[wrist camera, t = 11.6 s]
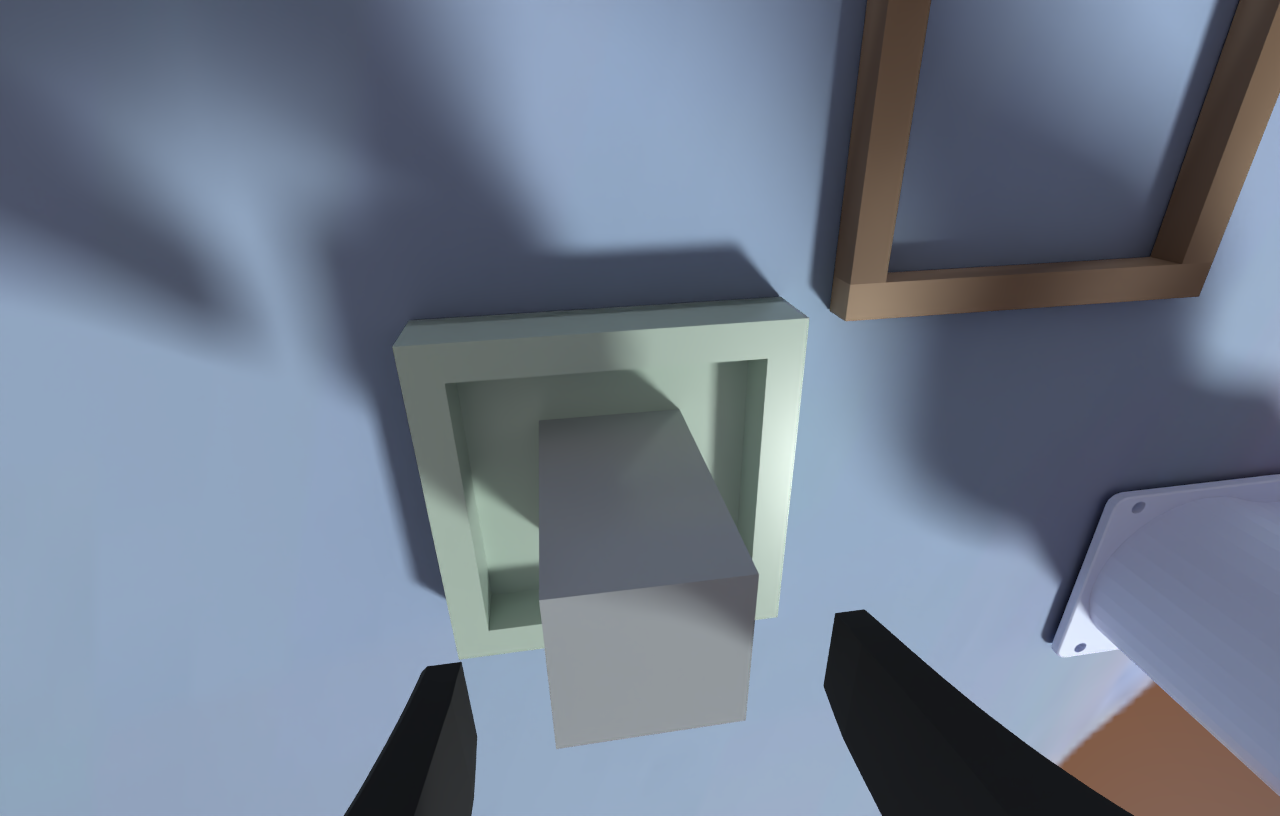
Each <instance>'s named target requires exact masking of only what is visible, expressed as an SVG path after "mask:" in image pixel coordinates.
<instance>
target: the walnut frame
mask: <svg viewBox="0 0 1280 816" xmlns="http://www.w3.org/2000/svg"><path fill="white" fill-rule="evenodd" d="M930 4H931V0H867V6H866V15H865V23H864V31H863V39H862V47H861V56H860V64H859V72H858V80H857V89H856V97H855V105H854V113H853V122H852V130H851V138H850V146H849V154H848V163H847V171H846V179H845V187H844V196H843V204H842V212H841V220H840V229H839V237H838V245H837V253H836V261H835V270H834V278H833V286H832V294H831V303H830V311H831V312H832V313H834V314H835V315H837V316H838V317H840V318H841V319H843V320H844V321H856V320H870V319H885V318H899V317H913V316H927V315H942V314H956V313H970V312H984V311H999V310H1013V309H1027V308H1041V307H1056V306H1070V305H1084V304H1098V303H1113V302H1127V301H1141V300H1155V299H1170V298H1184V297H1198V296H1199V295H1200V293H1201V290H1202V288H1203V285H1204V283H1205V280H1206V277H1207V275H1208V272H1209V270H1210V267H1211V265H1212V262H1213V260H1214V257H1215V255H1216V252H1217V250H1218V247H1219V245H1220V242H1221V240H1222V237H1223V234H1224V232H1225V229H1226V227H1227V224H1228V222H1229V219H1230V217H1231V214H1232V212H1233V209H1234V207H1235V204H1236V202H1237V199H1238V197H1239V194H1240V191H1241V189H1242V186H1243V184H1244V181H1245V179H1246V176H1247V174H1248V171H1249V169H1250V166H1251V164H1252V161H1253V159H1254V156H1255V154H1256V151H1257V149H1258V146H1259V143H1260V141H1261V138H1262V136H1263V133H1264V131H1265V128H1266V126H1267V123H1268V121H1269V118H1270V116H1271V113H1272V111H1273V108H1274V106H1275V103H1276V100H1277V98H1278V95H1279V93H1280V0H1240V1H1239V4H1238V7H1237V10H1236V12H1235V15H1234V18H1233V21H1232V24H1231V27H1230V30H1229V33H1228V35H1227V38H1226V41H1225V44H1224V47H1223V50H1222V53H1221V55H1220V58H1219V61H1218V64H1217V67H1216V70H1215V73H1214V76H1213V78H1212V81H1211V84H1210V87H1209V90H1208V93H1207V96H1206V98H1205V101H1204V104H1203V107H1202V110H1201V113H1200V116H1199V119H1198V121H1197V124H1196V127H1195V130H1194V133H1193V136H1192V139H1191V141H1190V144H1189V147H1188V150H1187V153H1186V156H1185V159H1184V162H1183V164H1182V167H1181V170H1180V173H1179V176H1178V179H1177V182H1176V184H1175V187H1174V190H1173V193H1172V196H1171V199H1170V202H1169V204H1168V207H1167V210H1166V213H1165V216H1164V219H1163V222H1162V225H1161V227H1160V230H1159V233H1158V236H1157V239H1156V242H1155V245H1154V247H1153V250H1152V253H1151V256H1150V257H1140V258H1123V259H1106V260H1090V261H1073V262H1056V263H1040V264H1023V265H1006V266H989V267H973V268H956V269H939V270H923V271H906V272H889V273H887V272H888V266H889V260H890V254H891V247H892V241H893V235H894V229H895V222H896V216H897V210H898V204H899V198H900V191H901V185H902V179H903V173H904V166H905V160H906V154H907V148H908V141H909V135H910V129H911V123H912V117H913V110H914V104H915V98H916V92H917V85H918V79H919V73H920V67H921V61H922V54H923V48H924V42H925V36H926V29H927V23H928V17H929V11H930Z"/></svg>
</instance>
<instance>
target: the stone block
mask: <svg viewBox="0 0 1280 816" xmlns="http://www.w3.org/2000/svg"><path fill="white" fill-rule="evenodd" d="M758 581H759V573H758V571H757V569H756V567H755V565H754V563H753V560H752V558H751V556H750V554H749V552H748V550H747V548H746V546H745V544H744V542H743V540H742V538H741V536H740V534H739V531H738V529H737V527H736V525H735V523H734V521H733V519H732V517H731V515H730V513H729V511H728V509H727V507H726V504H725V502H724V500H723V498H722V496H721V494H720V492H719V490H718V488H717V486H716V484H715V482H714V480H713V478H712V475H711V473H710V471H709V469H708V467H707V465H706V463H705V461H704V459H703V457H702V455H701V453H700V451H699V448H698V446H697V444H696V442H695V440H694V438H693V436H692V434H691V432H690V430H689V428H688V426H687V424H686V422H685V419H684V417H683V415H682V413H681V411H680V409H674V410H662V411H650V412H637V413H625V414H612V415H600V416H588V417H575V418H563V419H550V420H539V604H540V612H541V621H542V630H543V638H544V647H545V655H546V664H547V673H548V681H549V690H550V699H551V707H552V716H553V724H554V733H555V742H556V749H559V748H566V747H573V746H579V745H586V744H593V743H599V742H606V741H612V740H619V739H626V738H632V737H639V736H645V735H652V734H659V733H665V732H672V731H679V730H685V729H692V728H698V727H705V726H712V725H718V724H725V723H732V722H738V721H745V720H746V710H747V699H748V689H749V678H750V667H751V656H752V646H753V635H754V624H755V613H756V603H757V592H758Z"/></svg>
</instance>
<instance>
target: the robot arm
mask: <svg viewBox="0 0 1280 816" xmlns="http://www.w3.org/2000/svg"><path fill="white" fill-rule="evenodd" d="M1052 649H1053V651H1054V652H1055V653H1056V654H1057V655H1058V656H1060V657H1071V656H1077V655H1084V654H1090V653H1097V652H1103V651H1110V650H1117V649H1120V650H1121V651H1122V652H1123V653H1124V654H1125V655H1126V656H1127V657H1128V658H1129V659H1130V660H1132V661H1133V662H1134V663H1135V664H1136V665H1137V666H1138V667H1139V668H1140V669H1141V670H1142V671H1144V672H1145V673H1146V674H1147V675H1148V676H1149V677H1150V678H1151V679H1152V680H1153V681H1154V682H1156V683H1157V684H1158V685H1159V686H1160V687H1161V688H1162V689H1163V690H1164V691H1165V692H1167V693H1168V694H1169V695H1170V696H1171V697H1172V698H1173V699H1174V700H1175V701H1176V702H1177V703H1179V704H1180V705H1181V706H1182V707H1183V708H1184V709H1185V710H1186V711H1187V712H1188V713H1189V714H1190V715H1192V716H1193V717H1194V718H1195V719H1196V720H1197V721H1198V722H1199V723H1200V724H1201V725H1202V726H1204V727H1205V728H1206V729H1207V730H1208V731H1209V732H1210V733H1211V734H1212V735H1213V736H1214V737H1215V738H1217V739H1218V740H1219V741H1220V742H1221V743H1222V744H1223V745H1224V746H1226V748H1227V749H1229V750H1230V751H1231V752H1232V753H1233V754H1234V755H1235V756H1236V757H1237V758H1238V759H1240V760H1241V761H1242V762H1243V763H1244V764H1245V765H1246V766H1247V767H1248V768H1249V769H1250V770H1251V771H1253V772H1254V773H1255V774H1256V775H1257V776H1258V777H1259V778H1260V779H1261V780H1262V781H1264V782H1265V783H1266V784H1267V785H1268V786H1269V787H1270V788H1271V789H1272V790H1273V791H1274V792H1275V793H1277V794H1278V795H1279V796H1280V474H1276V475H1267V476H1258V477H1250V478H1241V479H1232V480H1224V481H1215V482H1206V483H1198V484H1189V485H1180V486H1172V487H1163V488H1154V489H1146V490H1137V491H1128V492H1121V493H1118V494H1115V495H1114V496H1112V497H1111V498H1110V499H1109V500H1108V501H1107V503H1106V505H1105V508H1104V510H1103V513H1102V516H1101V518H1100V521H1099V523H1098V526H1097V528H1096V531H1095V534H1094V536H1093V539H1092V541H1091V544H1090V547H1089V549H1088V552H1087V554H1086V557H1085V560H1084V562H1083V565H1082V567H1081V570H1080V573H1079V575H1078V578H1077V580H1076V583H1075V585H1074V588H1073V591H1072V593H1071V596H1070V598H1069V601H1068V604H1067V606H1066V609H1065V611H1064V614H1063V617H1062V619H1061V622H1060V624H1059V627H1058V630H1057V632H1056V635H1055V637H1054V640H1053V642H1052ZM824 688H825V691H826V694H827V697H828V700H829V702H830V705H831V708H832V711H833V713H834V716H835V719H836V721H837V724H838V726H839V729H840V731H841V734H842V737H843V739H844V741H845V743H846V745H847V747H848V749H849V751H850V753H851V755H852V757H853V759H854V761H855V763H856V765H857V767H858V769H859V771H860V773H861V775H862V777H863V779H864V781H865V783H866V785H867V787H868V789H869V791H870V793H871V795H872V797H873V799H874V801H875V803H876V805H877V807H878V809H879V811H880V812H881V814H882V816H1134V815H1132V814H1131V813H1129V812H1127V811H1125V810H1124V809H1122V808H1121V807H1119V806H1117V805H1116V804H1114V803H1113V802H1111V801H1110V800H1108V799H1106V798H1105V797H1103V796H1102V795H1100V794H1099V793H1097V792H1095V791H1094V790H1092V789H1091V788H1089V787H1088V786H1087V785H1085V784H1084V783H1082V782H1081V781H1079V780H1078V779H1076V778H1075V777H1073V776H1072V775H1070V774H1069V773H1067V772H1066V771H1064V770H1063V769H1062V768H1060V767H1059V766H1057V765H1056V764H1054V763H1053V762H1051V761H1050V760H1048V759H1047V758H1045V757H1044V756H1043V755H1041V754H1040V753H1039V752H1037V751H1036V750H1034V749H1033V748H1032V747H1030V746H1029V745H1027V744H1026V743H1025V742H1023V741H1022V740H1021V739H1019V738H1018V737H1017V736H1015V735H1014V734H1013V733H1012V732H1010V731H1009V730H1008V729H1006V728H1005V727H1004V726H1002V725H1001V724H1000V723H998V722H997V721H996V720H994V719H993V718H992V717H990V716H989V715H988V714H987V713H985V712H984V711H983V710H982V709H980V708H979V707H978V706H977V705H975V704H974V703H973V702H972V701H970V700H969V699H968V698H967V697H966V696H964V695H963V694H962V693H961V692H960V691H958V690H957V689H956V688H955V687H953V686H952V685H951V684H950V683H949V682H947V681H946V680H945V679H944V678H943V677H941V676H940V675H939V674H938V673H937V672H936V671H934V670H933V669H932V668H931V667H930V666H929V665H927V664H926V663H925V662H924V661H923V660H922V659H921V658H919V657H918V656H917V655H916V654H915V653H914V652H912V651H911V650H910V649H909V648H908V647H907V646H906V645H904V644H903V643H902V642H901V641H900V640H899V639H898V638H897V637H895V636H894V635H893V634H892V633H891V632H890V631H889V630H887V629H886V628H885V627H884V626H883V625H882V624H881V623H879V622H878V621H877V620H876V619H875V618H874V617H873V616H871V615H870V614H869V613H868V612H867V611H866V610H857V611H849V612H841V613H835V618H834V624H833V631H832V637H831V643H830V649H829V655H828V662H827V668H826V674H825V680H824ZM476 749H477V733H476V729H475V724H474V719H473V714H472V710H471V705H470V700H469V696H468V691H467V686H466V681H465V677H464V672H463V667H462V662H458V663H450V664H442V665H435V666H427V667H426V668H425V669H424V670H423V671H422V673H421V675H420V677H419V679H418V681H417V684H416V686H415V688H414V690H413V692H412V694H411V696H410V698H409V700H408V702H407V704H406V706H405V708H404V710H403V712H402V714H401V716H400V718H399V720H398V722H397V724H396V726H395V728H394V730H393V731H392V733H391V735H390V737H389V739H388V741H387V743H386V745H385V746H384V748H383V750H382V752H381V753H380V755H379V757H378V759H377V760H376V762H375V764H374V766H373V768H372V769H371V771H370V773H369V775H368V776H367V778H366V780H365V782H364V783H363V785H362V787H361V789H360V790H359V792H358V794H357V795H356V797H355V799H354V800H353V802H352V803H351V805H350V807H349V808H348V810H347V811H346V813H345V815H344V816H471V814H472V807H473V800H474V787H475V770H476Z"/></svg>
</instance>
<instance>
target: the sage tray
mask: <svg viewBox="0 0 1280 816" xmlns="http://www.w3.org/2000/svg"><path fill="white" fill-rule="evenodd" d="M808 326H809V317H807V316H806V315H804V314H803V313H802V312H800V311H799V310H798V309H796V308H795V307H794V306H792V305H791V304H790V303H788V302H787V301H786V300H784V299H783V298H782V297H768V298H753V299H737V300H721V301H706V302H690V303H674V304H658V305H643V306H627V307H611V308H596V309H580V310H564V311H549V312H533V313H517V314H502V315H486V316H470V317H455V318H439V319H423V320H409V321H408V323H407V324H406V326H405V327H404V329H403V331H402V332H401V334H400V335H399V337H398V339H397V340H396V342H395V343H394V345H393V346H392V348H393V353H394V357H395V362H396V367H397V371H398V376H399V381H400V386H401V390H402V395H403V400H404V404H405V409H406V414H407V418H408V423H409V428H410V432H411V437H412V442H413V446H414V451H415V456H416V460H417V465H418V470H419V474H420V479H421V484H422V488H423V493H424V498H425V503H426V507H427V512H428V517H429V521H430V526H431V531H432V535H433V540H434V545H435V549H436V554H437V559H438V563H439V568H440V573H441V577H442V582H443V587H444V591H445V596H446V601H447V605H448V610H449V615H450V619H451V624H452V629H453V634H454V638H455V643H456V648H457V652H458V657H459V660H460V659H468V658H475V657H482V656H490V655H497V654H505V653H512V652H520V651H527V650H535V649H542V648H545V647H544V638H543V630H542V621H541V612H540V604H539V420H550V419H563V418H575V417H588V416H600V415H612V414H625V413H637V412H650V411H662V410H674V409H680V411H681V413H682V415H683V417H684V419H685V422H686V424H687V426H688V428H689V430H690V432H691V434H692V436H693V438H694V440H695V442H696V444H697V446H698V448H699V451H700V453H701V455H702V457H703V459H704V461H705V463H706V465H707V467H708V469H709V471H710V473H711V475H712V478H713V480H714V482H715V484H716V486H717V488H718V490H719V492H720V494H721V496H722V498H723V500H724V502H725V504H726V507H727V509H728V511H729V513H730V515H731V517H732V519H733V521H734V523H735V525H736V527H737V529H738V531H739V534H740V536H741V538H742V540H743V542H744V544H745V546H746V548H747V550H748V552H749V554H750V556H751V558H752V560H753V563H754V565H755V567H756V569H757V571H758V573H759V581H758V592H757V603H756V613H755V620H759V619H766V618H774V617H777V616H778V607H779V598H780V588H781V579H782V570H783V560H784V551H785V541H786V532H787V523H788V513H789V504H790V495H791V485H792V476H793V467H794V457H795V448H796V439H797V429H798V420H799V411H800V401H801V392H802V382H803V373H804V364H805V354H806V345H807V336H808Z"/></svg>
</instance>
